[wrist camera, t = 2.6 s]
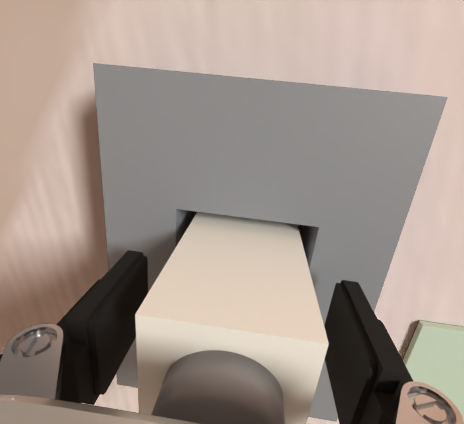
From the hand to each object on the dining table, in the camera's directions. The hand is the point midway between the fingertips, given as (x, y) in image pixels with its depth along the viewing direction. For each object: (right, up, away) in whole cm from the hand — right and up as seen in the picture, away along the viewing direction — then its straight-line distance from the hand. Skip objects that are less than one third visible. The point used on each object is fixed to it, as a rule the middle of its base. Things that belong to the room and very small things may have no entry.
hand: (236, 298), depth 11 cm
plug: (+1, +2, +5) cm, 5 cm away
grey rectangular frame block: (+1, +2, +4) cm, 5 cm away
